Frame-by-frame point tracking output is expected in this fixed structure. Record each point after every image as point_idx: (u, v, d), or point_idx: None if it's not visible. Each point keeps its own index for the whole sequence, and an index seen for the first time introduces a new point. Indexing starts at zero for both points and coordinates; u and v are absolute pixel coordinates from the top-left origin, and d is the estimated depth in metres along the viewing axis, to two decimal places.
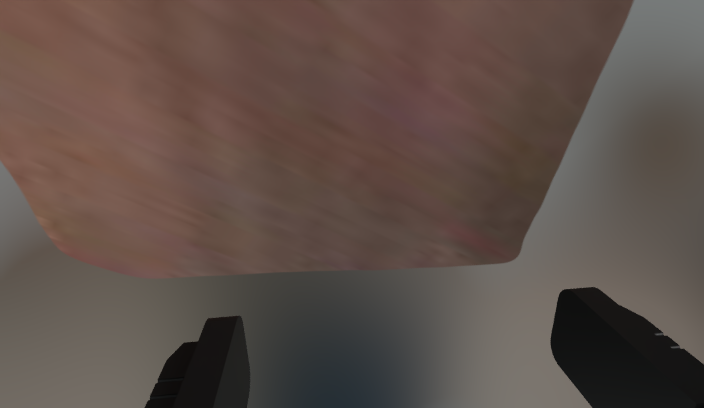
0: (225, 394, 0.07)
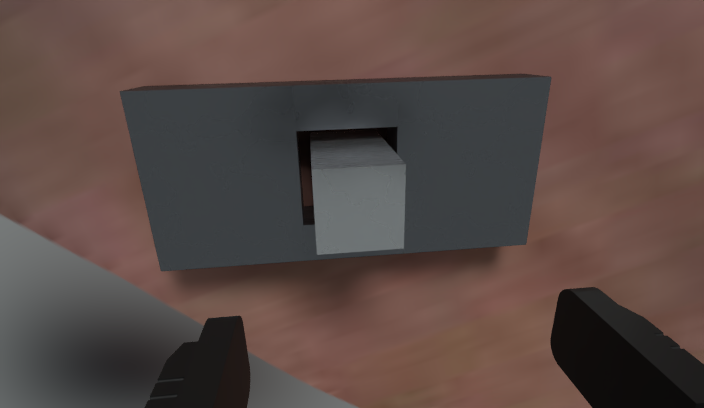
0: (225, 393, 0.07)
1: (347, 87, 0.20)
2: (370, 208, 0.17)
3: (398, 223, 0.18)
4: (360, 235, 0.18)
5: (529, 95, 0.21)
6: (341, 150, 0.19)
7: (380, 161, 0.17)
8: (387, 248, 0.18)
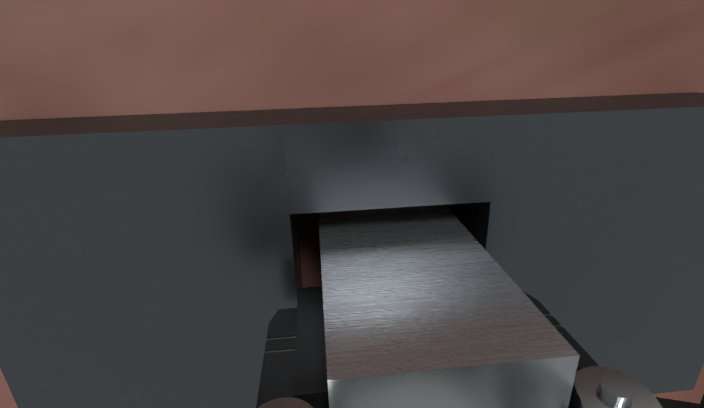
0: None
1: (395, 128, 0.10)
2: None
3: None
4: None
5: None
6: (388, 268, 0.09)
7: (499, 333, 0.07)
8: None
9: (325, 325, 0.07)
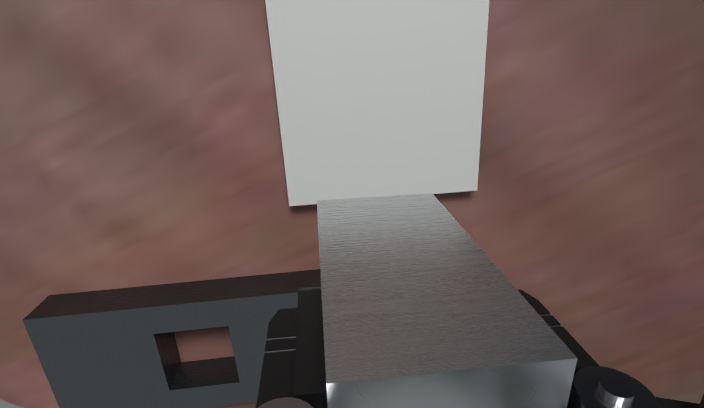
0: None
1: (186, 305, 0.28)
2: None
3: None
4: None
5: None
6: (387, 270, 0.09)
7: (498, 336, 0.07)
8: None
9: (324, 328, 0.07)
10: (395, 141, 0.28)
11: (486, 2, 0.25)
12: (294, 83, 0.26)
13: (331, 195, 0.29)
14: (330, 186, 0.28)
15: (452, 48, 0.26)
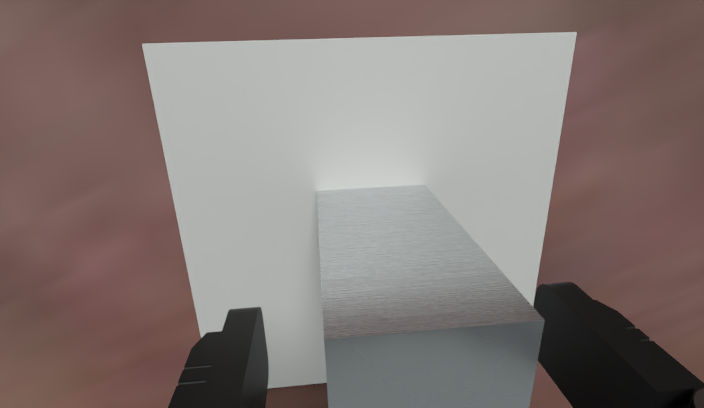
0: (250, 380, 0.08)
1: None
2: (455, 407, 0.08)
3: None
4: None
5: None
6: (380, 250, 0.10)
7: (476, 303, 0.08)
8: None
9: (322, 297, 0.08)
10: None
11: (565, 74, 0.14)
12: (211, 209, 0.14)
13: (283, 376, 0.17)
14: (281, 364, 0.17)
15: (499, 152, 0.14)
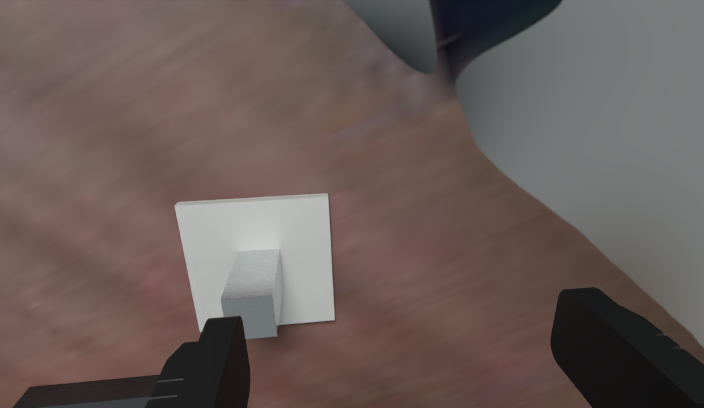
0: (225, 394, 0.07)
1: (125, 400, 0.41)
2: (255, 316, 0.32)
3: (272, 323, 0.32)
4: (251, 330, 0.32)
5: None
6: (246, 276, 0.34)
7: (260, 291, 0.32)
8: (268, 336, 0.33)
9: (224, 289, 0.32)
10: None
11: (327, 210, 0.38)
12: (198, 258, 0.38)
13: None
14: None
15: (307, 236, 0.38)
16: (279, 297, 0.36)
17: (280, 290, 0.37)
